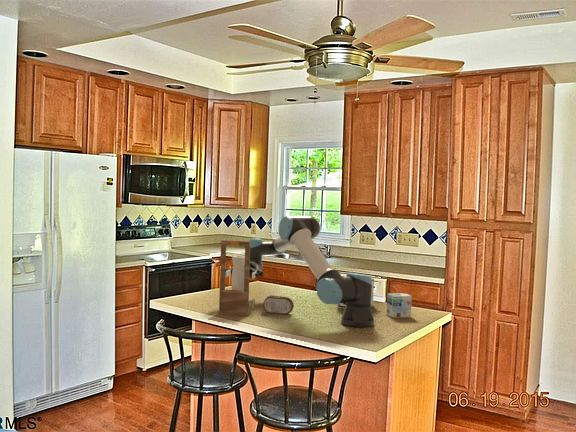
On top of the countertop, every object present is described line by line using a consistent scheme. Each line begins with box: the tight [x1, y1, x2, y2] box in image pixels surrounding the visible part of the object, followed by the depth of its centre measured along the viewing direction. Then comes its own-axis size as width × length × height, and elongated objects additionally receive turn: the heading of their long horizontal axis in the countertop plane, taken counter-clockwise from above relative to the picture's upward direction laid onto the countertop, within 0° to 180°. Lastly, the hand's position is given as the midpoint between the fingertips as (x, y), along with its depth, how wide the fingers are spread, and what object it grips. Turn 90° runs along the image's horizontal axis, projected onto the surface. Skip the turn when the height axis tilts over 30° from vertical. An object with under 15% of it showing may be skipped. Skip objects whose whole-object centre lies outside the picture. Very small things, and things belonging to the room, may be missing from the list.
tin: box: [263, 295, 294, 315], centre depth 270 cm, size 15×3×8 cm, turn 74°
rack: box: [218, 239, 256, 317], centre depth 270 cm, size 15×14×36 cm
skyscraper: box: [230, 252, 245, 291], centre depth 271 cm, size 8×8×28 cm
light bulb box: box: [385, 292, 413, 318], centre depth 273 cm, size 11×7×11 cm, turn 105°
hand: (239, 275), depth 274 cm, fingers open, 13 cm apart
